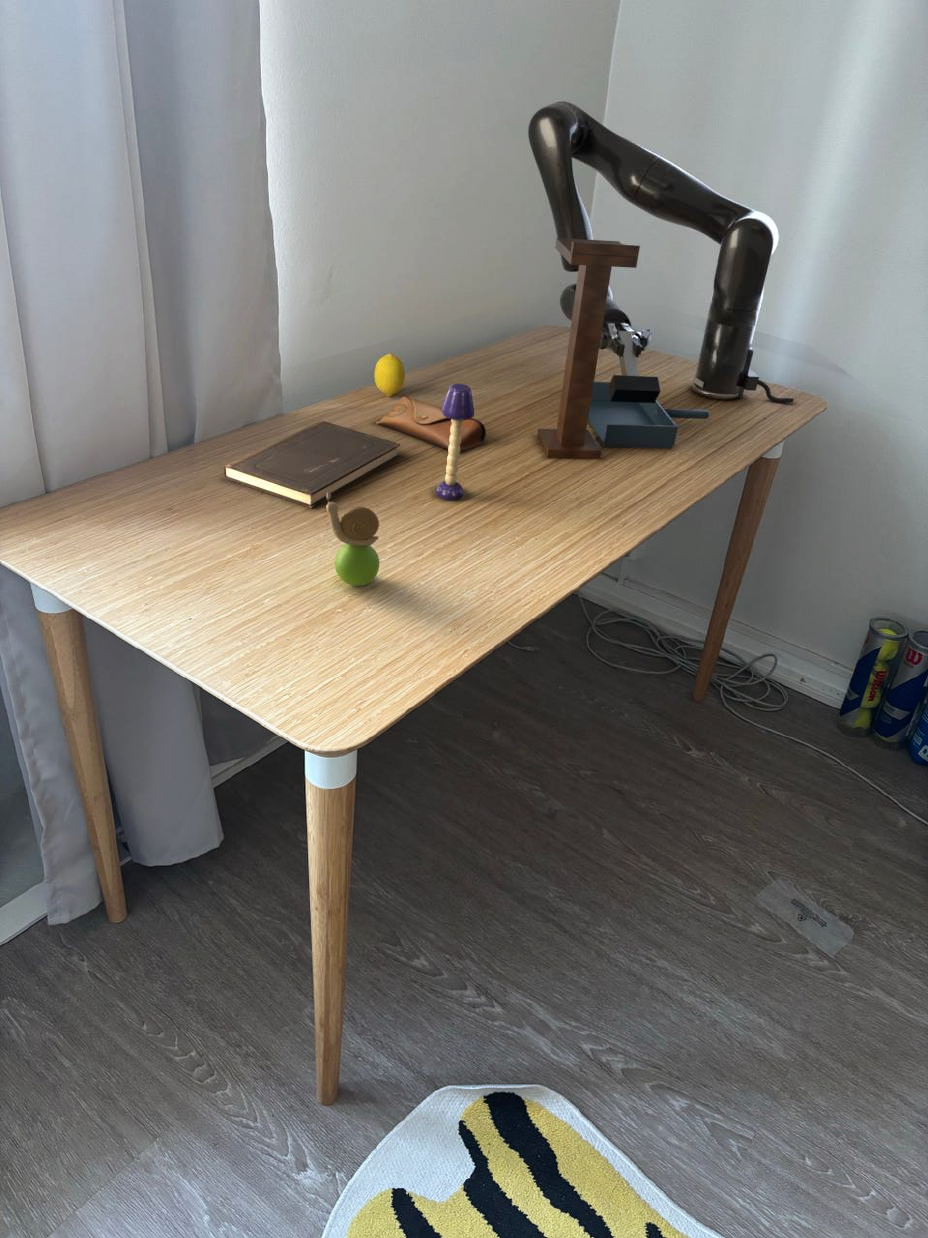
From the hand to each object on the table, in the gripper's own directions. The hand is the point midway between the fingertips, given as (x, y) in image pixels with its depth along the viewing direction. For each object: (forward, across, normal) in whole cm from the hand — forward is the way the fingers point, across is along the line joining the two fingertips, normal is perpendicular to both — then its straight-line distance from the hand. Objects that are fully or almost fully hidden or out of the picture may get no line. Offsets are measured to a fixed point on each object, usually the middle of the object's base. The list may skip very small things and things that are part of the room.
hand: (629, 351), depth 162 cm
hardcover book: (+24, -54, +13) cm, 61 cm away
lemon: (-8, -41, +13) cm, 44 cm away
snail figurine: (+58, -49, +12) cm, 77 cm away
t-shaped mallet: (+1, 0, +3) cm, 3 cm away
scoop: (+2, +5, +12) cm, 14 cm away
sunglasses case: (+9, -35, +13) cm, 39 cm away
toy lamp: (+33, -34, +13) cm, 49 cm away
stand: (+13, -12, +12) cm, 22 cm away
